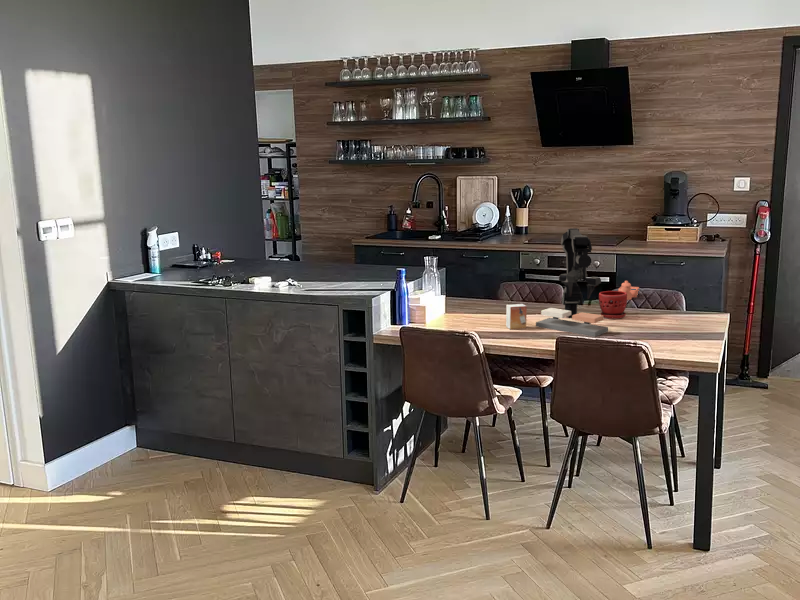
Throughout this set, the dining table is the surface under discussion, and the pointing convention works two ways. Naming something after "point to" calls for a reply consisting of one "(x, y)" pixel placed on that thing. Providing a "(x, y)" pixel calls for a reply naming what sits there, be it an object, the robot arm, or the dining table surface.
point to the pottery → (629, 290)
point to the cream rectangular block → (556, 313)
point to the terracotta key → (587, 317)
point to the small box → (516, 316)
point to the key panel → (572, 327)
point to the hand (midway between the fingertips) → (579, 297)
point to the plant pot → (613, 304)
